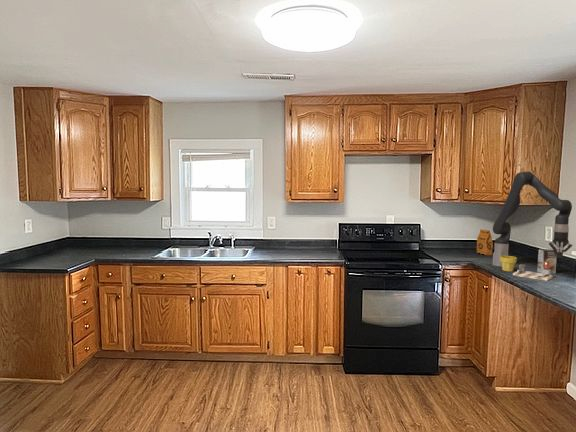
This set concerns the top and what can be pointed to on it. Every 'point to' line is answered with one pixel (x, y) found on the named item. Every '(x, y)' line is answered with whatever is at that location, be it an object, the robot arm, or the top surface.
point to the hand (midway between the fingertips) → (559, 258)
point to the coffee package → (484, 242)
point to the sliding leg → (546, 268)
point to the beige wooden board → (531, 274)
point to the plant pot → (508, 262)
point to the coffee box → (547, 259)
